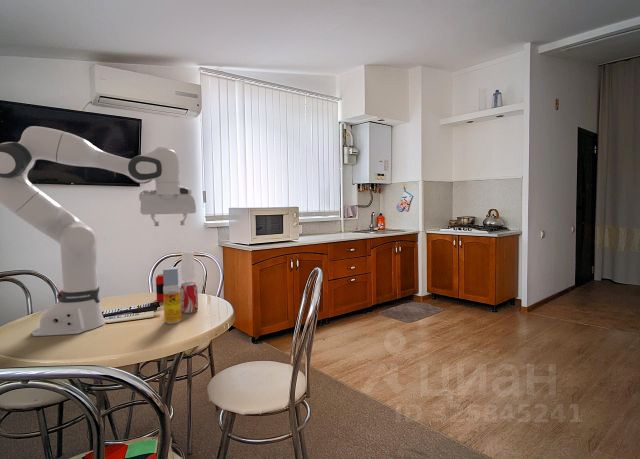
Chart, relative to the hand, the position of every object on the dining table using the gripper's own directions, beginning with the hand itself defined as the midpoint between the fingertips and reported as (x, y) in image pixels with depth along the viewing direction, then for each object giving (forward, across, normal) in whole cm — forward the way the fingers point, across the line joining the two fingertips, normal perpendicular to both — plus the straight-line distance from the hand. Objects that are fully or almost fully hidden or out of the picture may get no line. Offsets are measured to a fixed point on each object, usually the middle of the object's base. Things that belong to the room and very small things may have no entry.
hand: (169, 225), depth 148 cm
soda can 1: (+37, -5, +32) cm, 49 cm away
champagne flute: (+37, +6, +18) cm, 42 cm away
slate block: (+22, 0, -5) cm, 23 cm away
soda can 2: (+37, +6, +7) cm, 38 cm away
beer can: (+37, 0, -5) cm, 38 cm away
